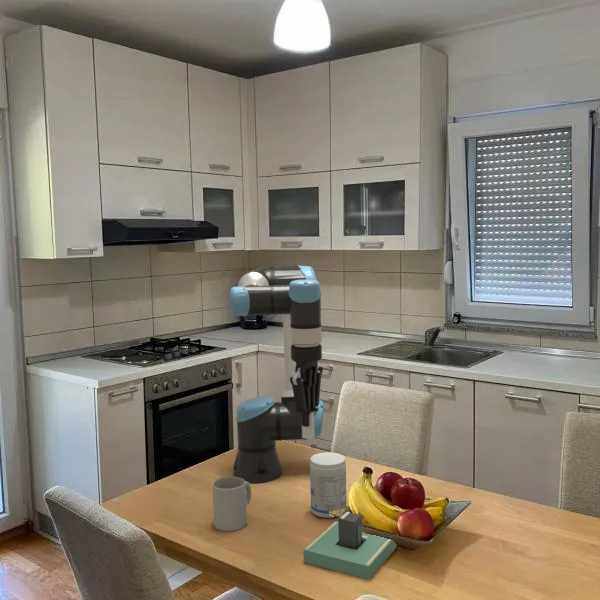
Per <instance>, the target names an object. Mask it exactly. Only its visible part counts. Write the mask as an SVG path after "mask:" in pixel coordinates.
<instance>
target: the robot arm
mask: <svg viewBox="0 0 600 600" xmlns="http://www.w3.org/2000/svg"><path fill="white" fill-rule="evenodd" d="M237 283H238V284H237V286H232V287H231V288H230V291H229V305H230V306H229V307H230V313H231V315H232V316H234V317H235V316H237V317H239V316H242V317H246V316H265V315H267V316H269V315H270V316H271V315H272V316H273V315H282V330H283V331H282V333H283V352H284V353H283V354H284V355H283V357H284V360H283V361H284V378H285V379H284V382H285V383H284V384H285V390H284V392H283V393H282V394H281V396H280V401H276V402H275V399H274V398H273V397H271V396H258V397H253V398H249V399H245V400H244V401H242V402H240V403H239V404H238V406H237V407H236V417H235V421H236V422H237V423H236V426H237V428H236V430H237V431H236V432H237V434H236V435H237V452H236V453H237V454H236V456H235V460H234V464H233V467H232V475H233V476H232V477H239V478H242V479H244V480H245V481H247V482H248V483H249V484H250V483H251V484H257V483H267V482H271V481H274V480H276V479H278V478H280V477H281V475H282V474H283V465H282V462H281V460H280V457H279V454H278V451H277V448H276V442H277V441H294V440H295V441H297V440H304V441H308V440H314V439H317V438H319V437H320V436H321V434H322V430H323V425H324V424H323V423H324V401H323V400H321V399H320V395H321V394H320V393H321V383H322V375H323V370H324V367H322V366H319V365H318V364H319V363H318V362H319V361H321V360H322V358H323V353H322V352H323V351H322V350H323V347H322V344H321V343H322V342H323V338H322V335H323V334H322V322H321V321H322V319H321V318H322V315H321V314H322V310H321V309H322V308H321V307H322V305H321V304H322V303H321V297H322V293H321V283H320V282H319V281H318V280H317V277H316V273H315V270H314V269H313V267H312V266H309V265H282V266H280V265H279V266H263V267H258V268H255V269H252V270H249V271H248V272H247V273H245V274H244V275H242V276H241V278H239V280H238V282H237Z"/></svg>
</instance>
